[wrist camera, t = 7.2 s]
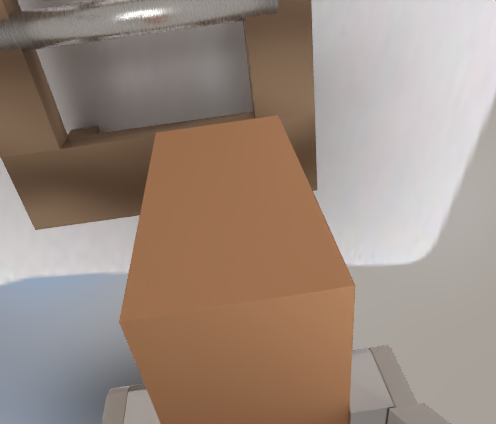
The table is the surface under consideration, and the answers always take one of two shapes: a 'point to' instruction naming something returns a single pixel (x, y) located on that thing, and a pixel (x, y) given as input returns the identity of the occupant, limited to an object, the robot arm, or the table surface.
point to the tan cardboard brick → (237, 283)
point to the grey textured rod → (119, 20)
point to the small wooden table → (142, 139)
